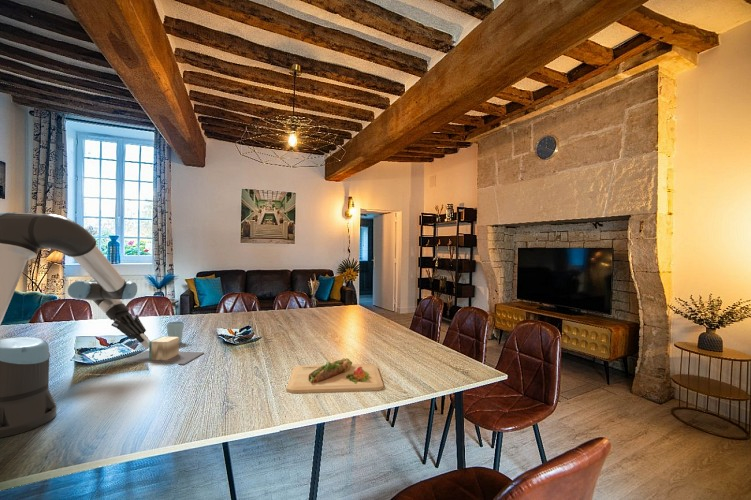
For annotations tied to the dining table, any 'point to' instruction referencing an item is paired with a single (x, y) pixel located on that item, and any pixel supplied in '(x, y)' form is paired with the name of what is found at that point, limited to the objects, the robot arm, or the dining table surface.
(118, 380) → the dining table surface
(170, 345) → the maple cube
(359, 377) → the cutting board
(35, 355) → the robot arm
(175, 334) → the cup
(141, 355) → the rubber mat
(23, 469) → the dining table surface
